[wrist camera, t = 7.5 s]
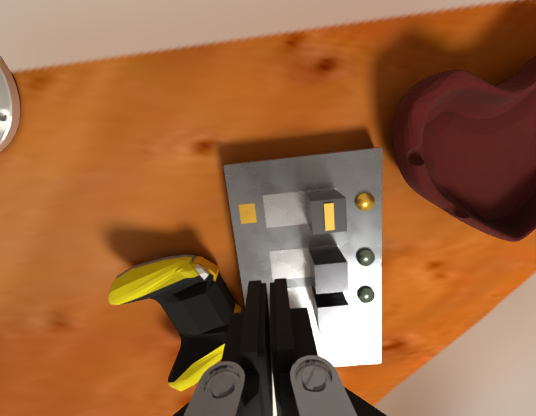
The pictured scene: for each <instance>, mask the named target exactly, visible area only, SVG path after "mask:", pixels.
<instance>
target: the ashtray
mask: <svg viewBox="0 0 536 416" xmlns="http://www.w3.org/2000/svg"><path fill="white" fill-rule="evenodd" d="M393 139H394V148H395V156H396V162H397V165H398V167H399V169H400V172H401V174H402V176H403V178H404V179H405V181H406V182H407V183H408V185H409V186H410V187H411V188H412V189H413V190H414V191H415V192H417V193H418V194H419V195H421V196H422V197H424V198H425V199H427V200H428V201H430V202H431V203H433V204H435V205H436V206H438V207H440V208H441V209H443V210H444V211H446V212H447V213H449V214H450V215H452V216H453V217H455V218H457V219H459V220H460V221H462V222H464V223H466V224H468V225H470V226H471V227H474V228H476V229H478V230H480V231H482V232H484V233H486V234H489V235H491V236H494V237H497V238H500V239H503V240H506V241H514V242H516V241H519V240H521V239H523V238H525V237H526V236H527V235H529V234H530V233H531V232H532V231H533V230H535V229H536V56H535V57H534V58H532V59H531V60H530V61H529V62H528V63H527V64H526V65H525V66H524V67H523V68H522V69H521V70H520V71H519V72H518V73H517V74H516V75H514V76H513V77H512V78H510V79H508V80H507V81H505V82H503V83H502V84H500V85H497V86H494V85H492V84H490V83H488V82H486V81H484V80H482V79H481V78H479V77H477V76H475V75H473V74H471V73H470V72H467V71H464V70H452V71H447V72H442V73H439V74H435V75H432V76H430V77H428V78H426V79H424V80H422V81H420V82H418V83H417V84H416V85H414V86H413V87H412V88H410V89H409V90H408V91H407V92H406V93H405V94H404V96H403V98H402V99H401V101H400V103H399V106H398V108H397V111H396V114H395V117H394V122H393Z"/></svg>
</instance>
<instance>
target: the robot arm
mask: <svg viewBox="0 0 536 416" xmlns="http://www.w3.org/2000/svg"><path fill="white" fill-rule="evenodd" d="M19 118H20V101H19V95H18V91H17V87H16V84H15V81H14V79H13V77H12V74H11V72H10V70H9V69H8V67H7V66H6V64H5V62H4V60H3V59H2V57H1V56H0V151H2V150H3V149H4V148H5V147H6V146H7V145H8V144H9V143H10V142H11V140H12V139H13V137H14V135H15V133H16V131H17V128H18V125H19ZM272 373H273V377H272ZM273 382H274V392H275V401H276V410H277V416H386V415H385V414H384V413H382V412H380V411H379V410H378V409H376V408H375V407H373V406H372V405H370V404H369V403H367V402H366V401H364V400H363V399H361V398H360V397H358V396H357V395H355V394H354V393H352V392H351V391H349V390H348V389H347V388H345V387H344V386H343V384H342V382H341V380H340V377H339V375H338V373H337V371H336V369H335V368H334V366H333V365H332V364H331V363H330V362H329V361H328V360H327V359H325V358H322V357H320V356H318V353H317V348H316V344H315V339H314V335H313V330H312V326H311V321H310V317H309V313H308V309H307V307H304V308H291V309H290V304H289V296H288V288H287V280H286V278H280V279H274V282H272V283H270V315H269V305H268V296H267V286H266V283H262V282H261V280H255V281H249V283H248V290H247V297H246V304H245V311H244V312H238V313H232V314H231V318H230V322H229V327H228V332H227V336H226V341H225V346H224V351H223V355H222V360H221V362H219V363H216V364H214V365H213V366H211V367H209V368H208V369H207V370H206V371H205V372H204V373H203V375H202V377H201V378H200V380H199V382H198V385H197V387H196V389H195V391H194V394H193V396H192V398H191V400H190V402H189V403H188V404H186V405H185V406H184V407H183V408H181V409H180V410H179V411H178V412H177V413H175V414H174V415H173V416H273Z"/></svg>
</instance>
